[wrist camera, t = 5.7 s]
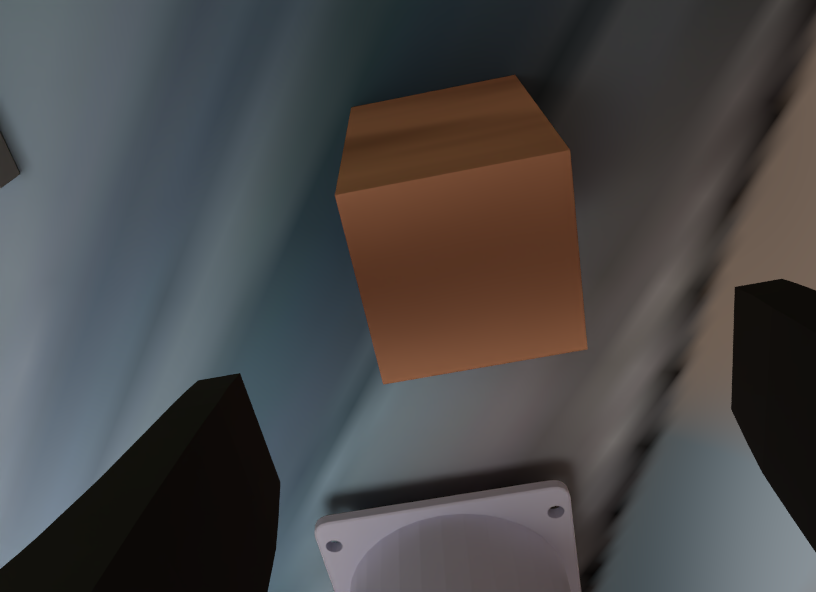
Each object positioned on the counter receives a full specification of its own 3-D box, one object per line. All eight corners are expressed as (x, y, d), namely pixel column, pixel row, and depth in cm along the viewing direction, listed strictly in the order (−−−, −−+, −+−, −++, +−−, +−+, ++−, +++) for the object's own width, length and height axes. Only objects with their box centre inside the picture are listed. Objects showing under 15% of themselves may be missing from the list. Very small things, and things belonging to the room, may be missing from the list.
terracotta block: (532, 226, 19) (587, 349, 14) (385, 253, 19) (383, 384, 14) (514, 74, 17) (570, 149, 12) (351, 107, 18) (334, 195, 12)
